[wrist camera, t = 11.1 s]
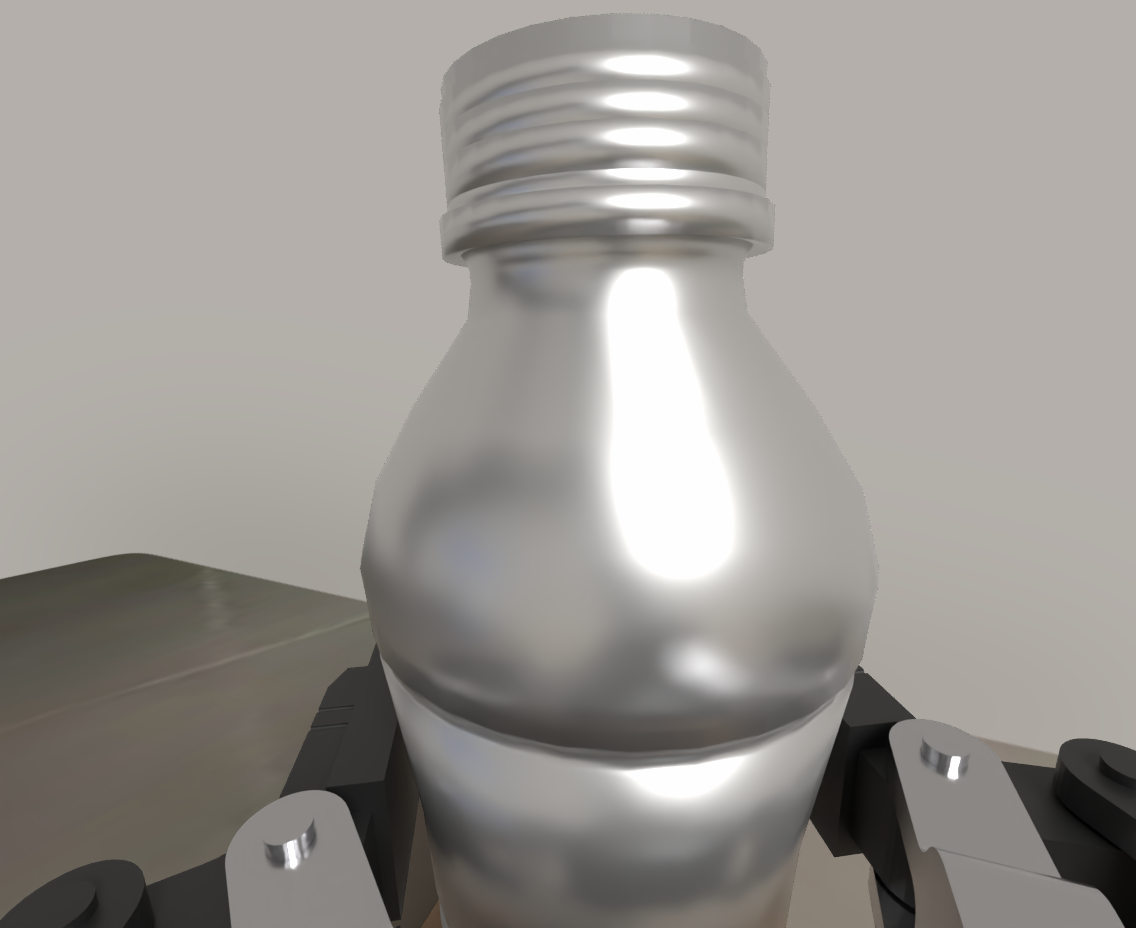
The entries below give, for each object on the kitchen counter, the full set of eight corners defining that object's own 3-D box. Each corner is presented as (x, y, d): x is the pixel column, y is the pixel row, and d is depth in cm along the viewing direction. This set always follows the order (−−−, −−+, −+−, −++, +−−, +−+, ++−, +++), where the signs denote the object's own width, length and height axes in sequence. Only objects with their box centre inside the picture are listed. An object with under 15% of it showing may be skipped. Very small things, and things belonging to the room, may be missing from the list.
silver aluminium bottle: (562, 963, 16) (537, 187, 11) (820, 1158, 12) (959, 107, 7) (366, 1273, 11) (153, 78, 6) (708, 1779, 7) (917, -401, 2)
